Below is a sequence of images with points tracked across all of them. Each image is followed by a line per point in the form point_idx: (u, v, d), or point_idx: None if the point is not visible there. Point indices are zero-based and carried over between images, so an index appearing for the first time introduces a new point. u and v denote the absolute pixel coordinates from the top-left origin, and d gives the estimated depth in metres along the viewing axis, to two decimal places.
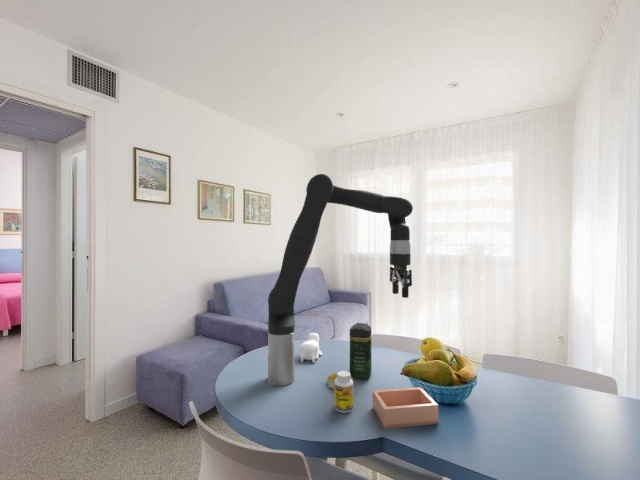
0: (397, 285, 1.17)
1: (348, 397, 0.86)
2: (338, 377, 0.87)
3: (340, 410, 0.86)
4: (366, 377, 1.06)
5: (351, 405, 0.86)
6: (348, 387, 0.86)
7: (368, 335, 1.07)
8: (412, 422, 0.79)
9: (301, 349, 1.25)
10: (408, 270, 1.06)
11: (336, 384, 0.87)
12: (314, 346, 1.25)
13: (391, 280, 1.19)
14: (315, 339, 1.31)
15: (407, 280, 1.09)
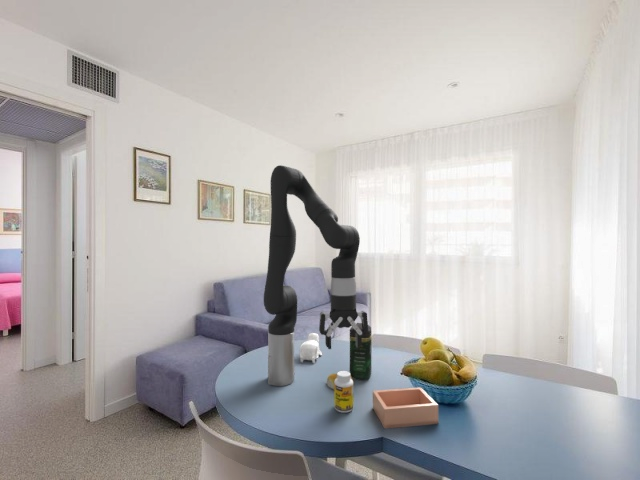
0: None
1: (348, 397, 0.86)
2: (338, 377, 0.87)
3: (340, 410, 0.86)
4: (366, 377, 1.06)
5: (351, 405, 0.86)
6: (348, 387, 0.86)
7: (368, 335, 1.07)
8: (412, 422, 0.79)
9: (301, 350, 1.24)
10: None
11: (336, 384, 0.87)
12: (314, 346, 1.24)
13: (324, 332, 0.87)
14: (315, 339, 1.31)
15: None
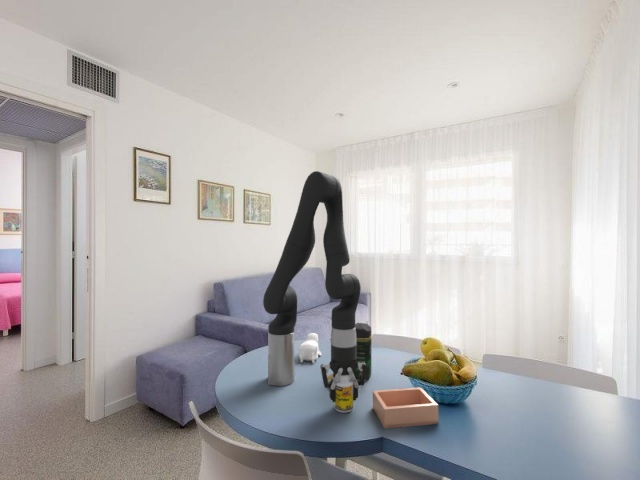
0: None
1: (348, 397, 0.86)
2: None
3: (340, 410, 0.86)
4: (366, 377, 1.06)
5: (351, 405, 0.86)
6: (348, 387, 0.86)
7: (368, 335, 1.07)
8: (412, 422, 0.79)
9: (301, 350, 1.24)
10: None
11: (336, 384, 0.87)
12: (313, 346, 1.24)
13: (328, 385, 0.87)
14: (314, 339, 1.31)
15: None
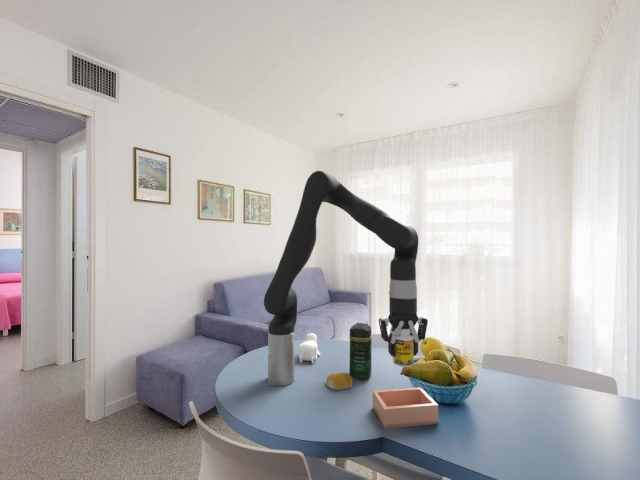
0: None
1: (409, 351, 0.82)
2: None
3: (401, 364, 0.82)
4: (366, 377, 1.06)
5: (412, 360, 0.83)
6: (410, 340, 0.82)
7: (368, 335, 1.07)
8: (412, 422, 0.79)
9: (300, 350, 1.24)
10: None
11: (396, 338, 0.83)
12: (313, 346, 1.24)
13: None
14: (313, 339, 1.31)
15: None
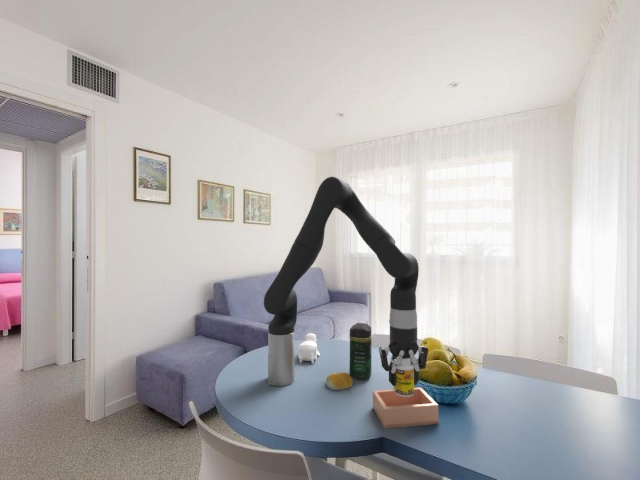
0: None
1: (410, 381, 0.82)
2: None
3: (402, 394, 0.82)
4: (366, 377, 1.06)
5: (413, 389, 0.83)
6: (410, 370, 0.82)
7: (368, 335, 1.07)
8: (412, 422, 0.79)
9: (300, 350, 1.23)
10: None
11: (397, 367, 0.83)
12: (313, 347, 1.24)
13: (388, 368, 0.83)
14: (312, 340, 1.31)
15: None
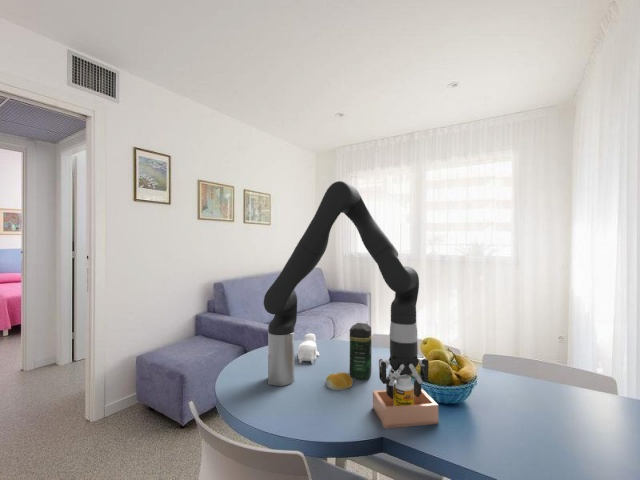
0: None
1: (410, 401, 0.82)
2: (398, 380, 0.83)
3: None
4: (366, 377, 1.06)
5: None
6: (410, 390, 0.82)
7: (368, 335, 1.07)
8: (412, 422, 0.79)
9: (299, 351, 1.23)
10: None
11: (397, 387, 0.83)
12: (312, 347, 1.24)
13: None
14: (312, 340, 1.31)
15: None
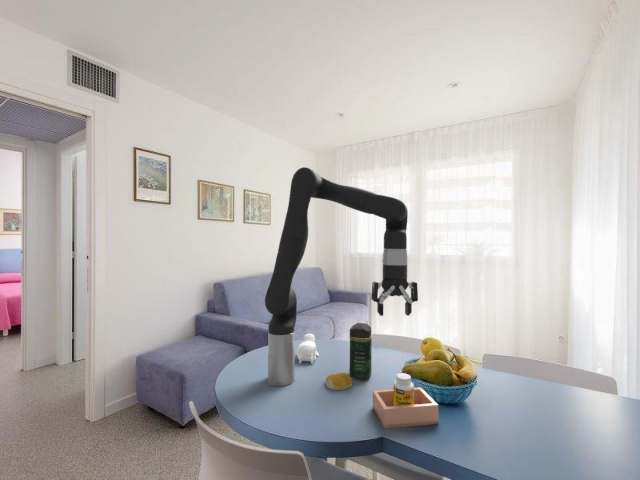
0: None
1: (410, 401, 0.82)
2: (398, 380, 0.83)
3: None
4: (366, 377, 1.06)
5: None
6: (410, 390, 0.82)
7: (368, 335, 1.07)
8: (412, 422, 0.79)
9: (299, 351, 1.23)
10: None
11: (397, 387, 0.83)
12: (312, 347, 1.24)
13: (377, 299, 0.92)
14: (311, 340, 1.30)
15: None
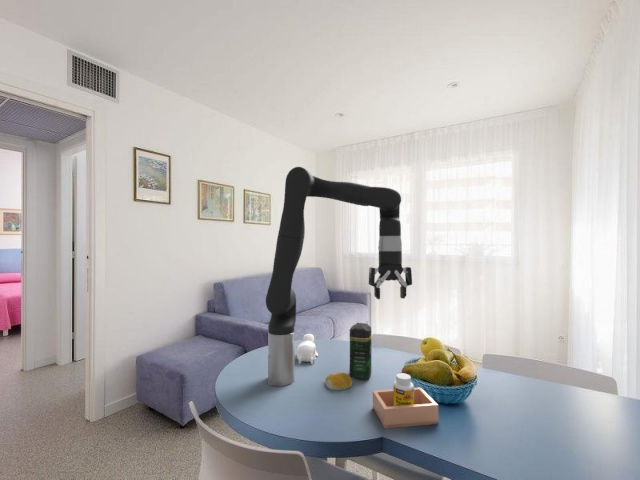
0: None
1: (410, 401, 0.82)
2: (398, 380, 0.83)
3: None
4: (366, 377, 1.06)
5: None
6: (410, 390, 0.82)
7: (368, 335, 1.07)
8: (412, 422, 0.79)
9: (299, 351, 1.23)
10: None
11: (397, 387, 0.83)
12: (312, 347, 1.23)
13: (374, 284, 0.98)
14: (310, 340, 1.30)
15: None
